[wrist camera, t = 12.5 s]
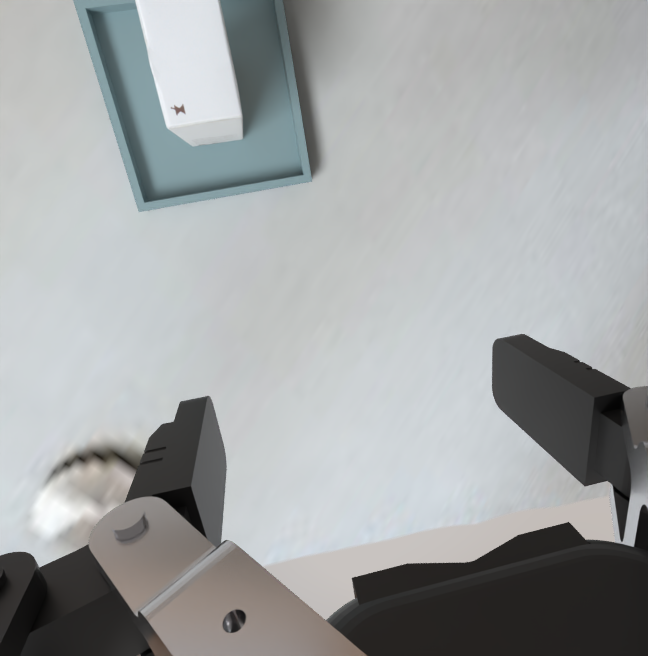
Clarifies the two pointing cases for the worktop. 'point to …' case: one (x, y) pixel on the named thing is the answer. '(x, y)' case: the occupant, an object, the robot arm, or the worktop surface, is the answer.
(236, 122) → the skincare box
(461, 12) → the worktop surface
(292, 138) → the tray
